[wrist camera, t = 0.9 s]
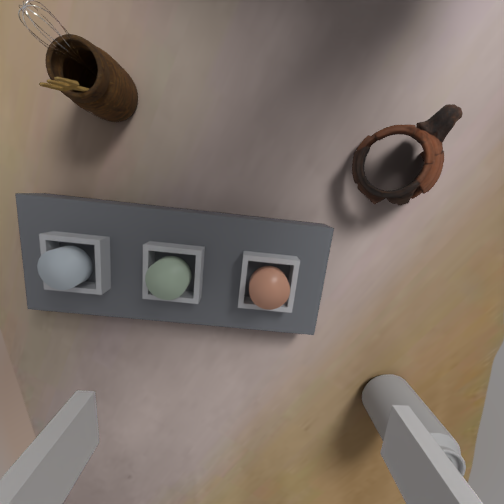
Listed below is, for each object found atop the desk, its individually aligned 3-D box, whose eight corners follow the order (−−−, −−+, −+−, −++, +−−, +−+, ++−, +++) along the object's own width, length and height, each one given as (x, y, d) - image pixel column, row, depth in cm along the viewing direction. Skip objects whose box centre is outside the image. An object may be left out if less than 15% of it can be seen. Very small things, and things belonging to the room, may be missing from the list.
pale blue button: (50, 243, 27) (35, 247, 25) (91, 247, 27) (79, 251, 25) (53, 281, 28) (39, 288, 26) (93, 285, 28) (82, 292, 26)
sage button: (152, 253, 28) (145, 258, 26) (192, 257, 28) (188, 262, 26) (152, 290, 29) (145, 298, 27) (190, 294, 29) (186, 301, 27)
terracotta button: (251, 263, 28) (251, 269, 26) (289, 267, 28) (293, 273, 26) (247, 299, 29) (247, 307, 27) (284, 303, 29) (287, 311, 27)
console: (44, 193, 31) (-3, 193, 26) (323, 223, 33) (340, 230, 27) (52, 295, 35) (13, 316, 29) (306, 319, 36) (318, 344, 30)
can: (407, 406, 40) (472, 494, 28) (360, 413, 40) (406, 503, 29) (406, 366, 38) (475, 443, 27) (357, 374, 39) (405, 453, 27)
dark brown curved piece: (399, 219, 34) (400, 223, 26) (342, 180, 36) (329, 174, 29) (479, 134, 28) (507, 111, 21) (405, 95, 31) (408, 64, 24)
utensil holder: (126, 58, 28) (41, -36, 17) (149, 116, 30) (85, 67, 18) (79, 76, 29) (-38, -3, 17) (103, 133, 30) (12, 95, 18)
